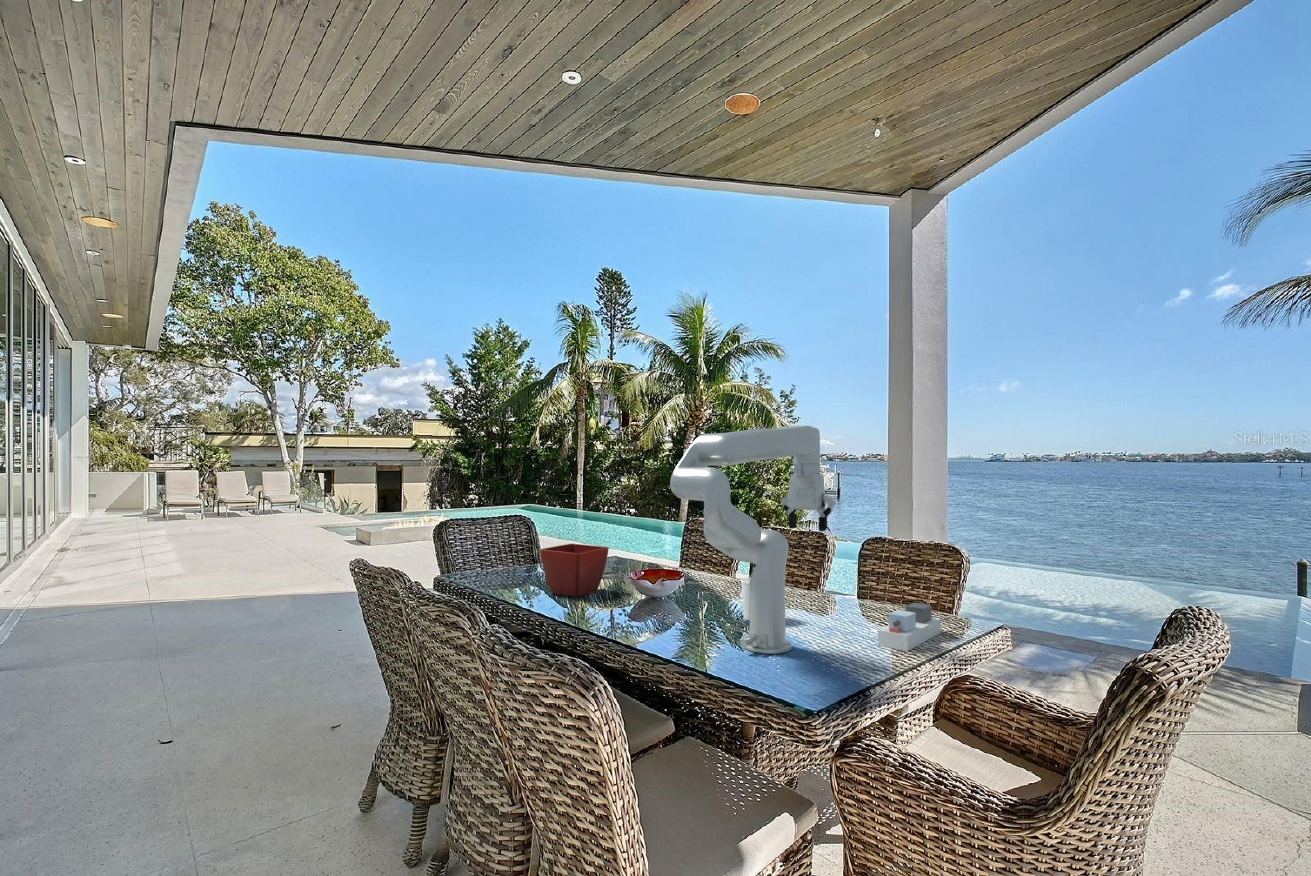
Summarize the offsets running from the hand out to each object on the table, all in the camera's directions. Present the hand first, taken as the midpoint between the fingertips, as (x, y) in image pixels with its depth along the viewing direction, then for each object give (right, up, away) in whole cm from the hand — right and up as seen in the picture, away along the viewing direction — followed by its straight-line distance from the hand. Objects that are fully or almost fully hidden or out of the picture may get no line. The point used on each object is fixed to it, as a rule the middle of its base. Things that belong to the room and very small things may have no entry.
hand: (807, 529), depth 189 cm
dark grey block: (+32, -30, 0) cm, 44 cm away
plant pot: (-74, -32, +59) cm, 100 cm away
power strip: (+28, -30, -5) cm, 41 cm away
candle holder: (-12, -31, +19) cm, 38 cm away
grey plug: (+24, -30, -9) cm, 39 cm away
